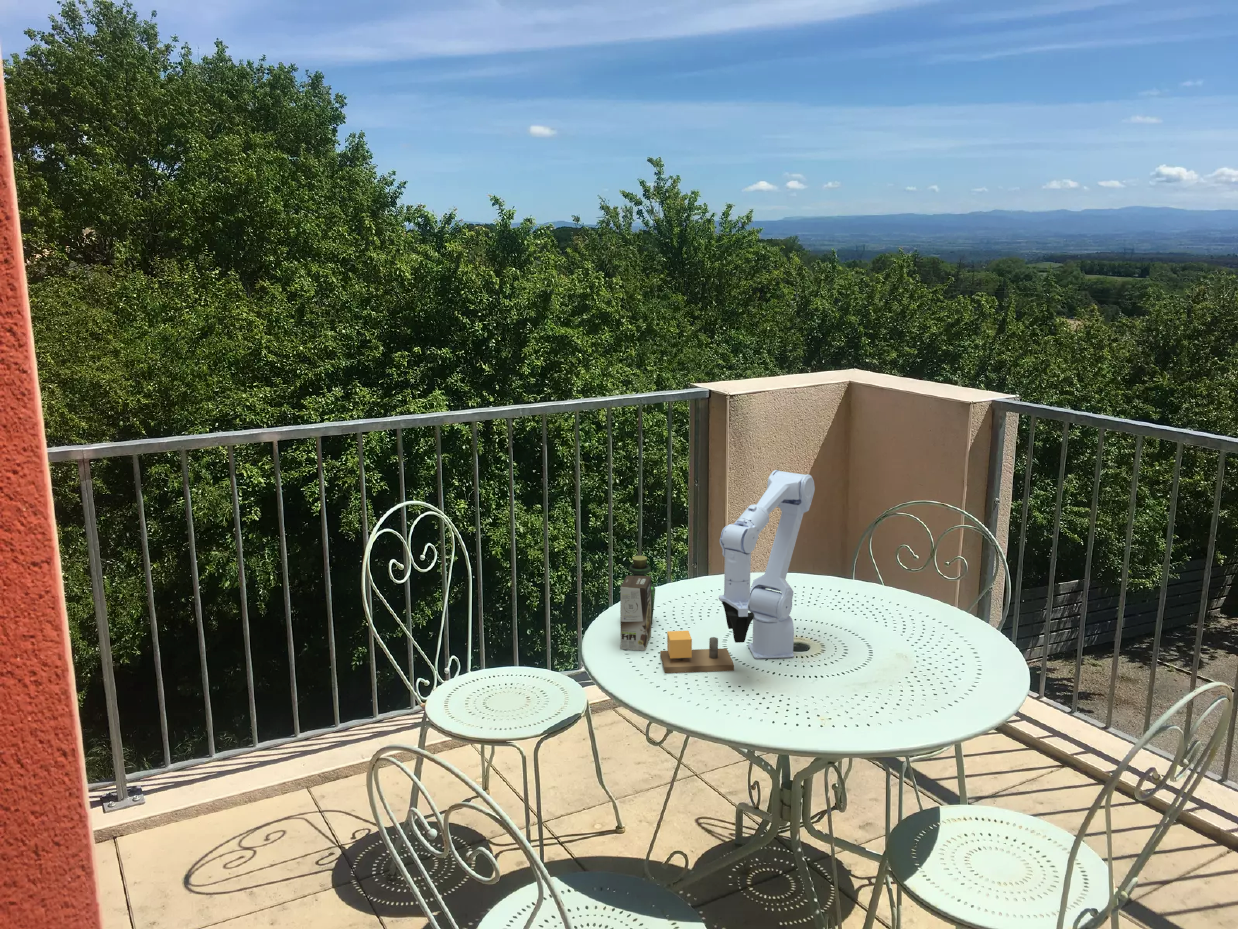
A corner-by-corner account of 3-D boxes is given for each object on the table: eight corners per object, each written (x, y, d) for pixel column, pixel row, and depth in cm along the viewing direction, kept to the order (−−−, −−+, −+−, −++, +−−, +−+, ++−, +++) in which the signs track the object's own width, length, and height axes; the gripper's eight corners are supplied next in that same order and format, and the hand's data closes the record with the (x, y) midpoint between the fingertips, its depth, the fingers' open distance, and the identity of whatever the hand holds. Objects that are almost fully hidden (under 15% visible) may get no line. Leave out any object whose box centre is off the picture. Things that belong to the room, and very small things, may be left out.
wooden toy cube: (688, 648, 209) (688, 630, 208) (691, 657, 204) (691, 639, 203) (667, 649, 208) (667, 631, 207) (670, 658, 203) (670, 640, 202)
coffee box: (645, 651, 214) (645, 588, 210) (619, 649, 215) (619, 586, 211) (652, 636, 222) (652, 575, 219) (627, 634, 224) (626, 574, 220)
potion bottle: (618, 621, 232) (618, 555, 228) (646, 615, 236) (645, 551, 232) (633, 632, 225) (633, 564, 221) (661, 626, 229) (661, 560, 225)
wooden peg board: (726, 654, 212) (727, 630, 210) (734, 670, 203) (734, 646, 202) (660, 656, 211) (660, 633, 209) (664, 673, 202) (664, 648, 201)
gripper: (713, 567, 203) (713, 623, 206) (725, 589, 189) (724, 649, 192) (744, 566, 204) (742, 622, 207) (758, 588, 190) (756, 647, 193)
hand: (736, 635), depth 199 cm, fingers open, 7 cm apart
